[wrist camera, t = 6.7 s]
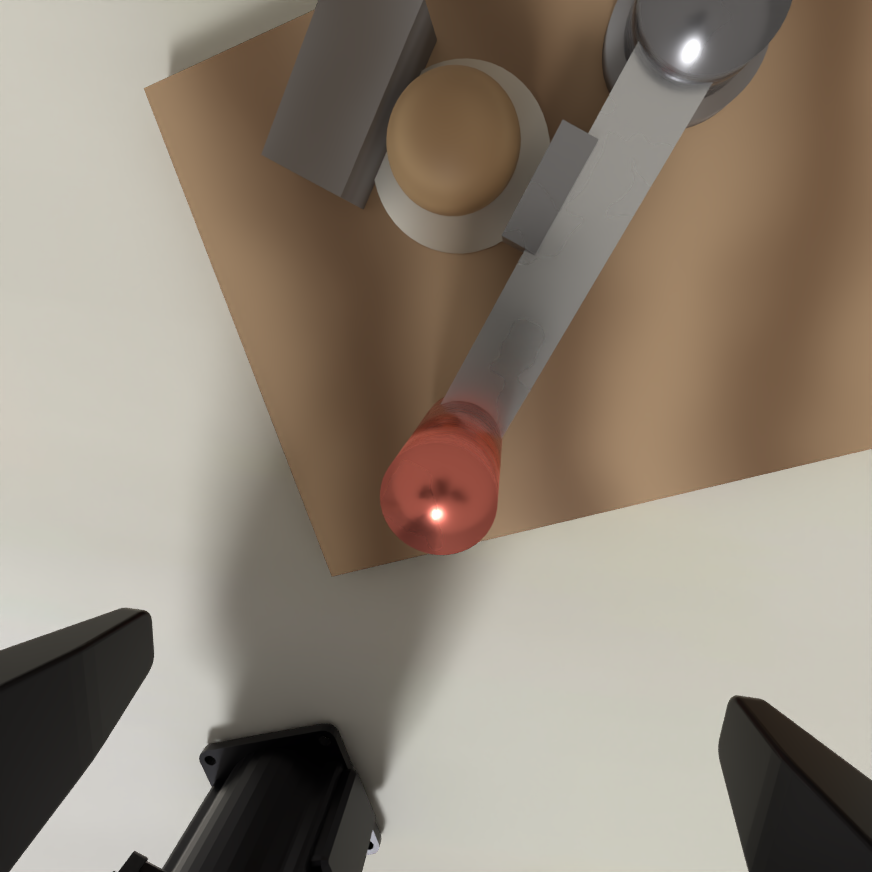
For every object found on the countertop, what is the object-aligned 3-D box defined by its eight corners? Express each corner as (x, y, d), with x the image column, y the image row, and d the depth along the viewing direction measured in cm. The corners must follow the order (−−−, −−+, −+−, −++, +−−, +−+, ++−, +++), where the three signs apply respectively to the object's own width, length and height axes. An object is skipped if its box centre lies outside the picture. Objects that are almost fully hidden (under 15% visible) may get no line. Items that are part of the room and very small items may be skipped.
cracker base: (341, 561, 22) (308, 612, 18) (166, 101, 18) (86, 56, 15) (915, 422, 18) (1012, 453, 14) (826, -197, 14) (926, -352, 11)
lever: (665, -65, 14) (777, -330, 8) (781, 0, 14) (979, -216, 8) (398, 437, 18) (342, 509, 12) (488, 487, 18) (475, 582, 12)
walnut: (421, 239, 17) (399, 227, 14) (384, 119, 16) (351, 75, 13) (534, 199, 16) (539, 176, 13) (500, 72, 16) (497, 12, 12)
